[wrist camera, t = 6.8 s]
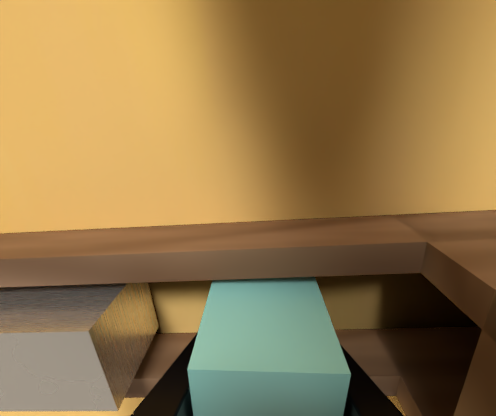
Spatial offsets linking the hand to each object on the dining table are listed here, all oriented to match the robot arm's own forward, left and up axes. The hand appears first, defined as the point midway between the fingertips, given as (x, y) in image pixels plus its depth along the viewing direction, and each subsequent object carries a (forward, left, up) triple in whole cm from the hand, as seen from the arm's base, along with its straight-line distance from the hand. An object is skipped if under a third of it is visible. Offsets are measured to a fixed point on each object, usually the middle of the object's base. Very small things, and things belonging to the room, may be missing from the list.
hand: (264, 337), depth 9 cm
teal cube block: (0, 0, -1) cm, 1 cm away
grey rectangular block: (0, -10, -3) cm, 10 cm away
